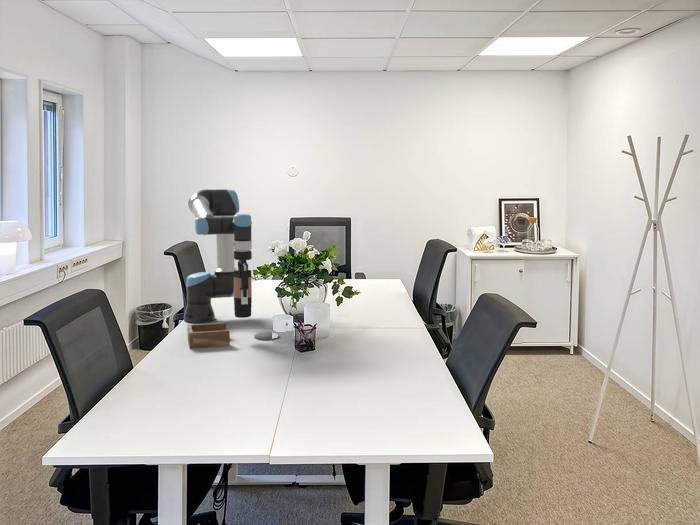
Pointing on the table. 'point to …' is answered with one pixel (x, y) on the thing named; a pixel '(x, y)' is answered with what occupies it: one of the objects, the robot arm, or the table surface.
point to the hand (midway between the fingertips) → (243, 301)
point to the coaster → (263, 336)
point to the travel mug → (239, 308)
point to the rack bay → (208, 335)
